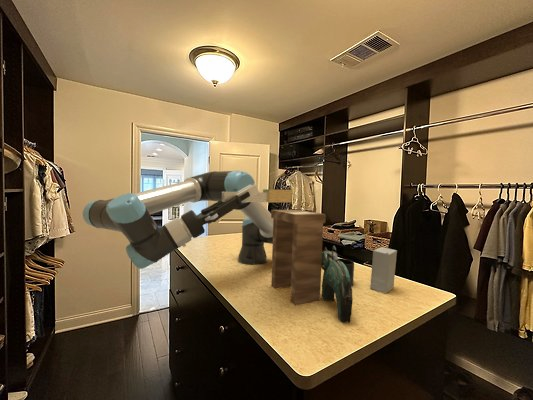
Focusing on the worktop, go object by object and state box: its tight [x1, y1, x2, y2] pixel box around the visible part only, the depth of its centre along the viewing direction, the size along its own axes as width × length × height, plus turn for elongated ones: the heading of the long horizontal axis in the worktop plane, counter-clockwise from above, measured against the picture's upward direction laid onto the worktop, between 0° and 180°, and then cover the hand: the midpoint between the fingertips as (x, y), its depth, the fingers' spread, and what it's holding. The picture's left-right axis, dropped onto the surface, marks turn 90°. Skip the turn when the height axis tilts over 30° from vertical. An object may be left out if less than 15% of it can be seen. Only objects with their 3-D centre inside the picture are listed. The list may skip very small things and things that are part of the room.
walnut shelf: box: [270, 209, 327, 306], centre depth 93 cm, size 18×12×30 cm, turn 25°
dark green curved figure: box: [321, 245, 354, 323], centre depth 82 cm, size 20×6×20 cm, turn 4°
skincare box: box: [370, 246, 398, 294], centre depth 100 cm, size 8×7×16 cm
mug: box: [338, 257, 355, 286], centre depth 105 cm, size 9×12×9 cm
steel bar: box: [222, 188, 293, 203], centre depth 80 cm, size 5×22×4 cm, turn 114°
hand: (254, 188), depth 79 cm, fingers closed on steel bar, 3 cm apart
